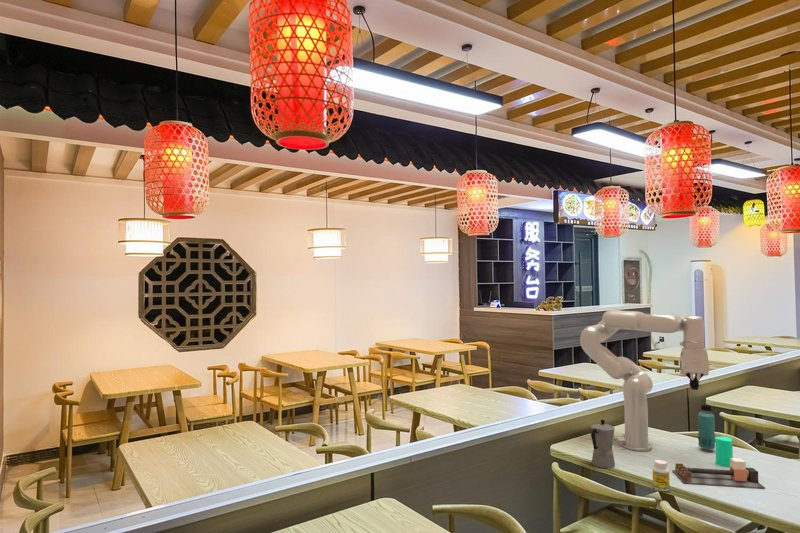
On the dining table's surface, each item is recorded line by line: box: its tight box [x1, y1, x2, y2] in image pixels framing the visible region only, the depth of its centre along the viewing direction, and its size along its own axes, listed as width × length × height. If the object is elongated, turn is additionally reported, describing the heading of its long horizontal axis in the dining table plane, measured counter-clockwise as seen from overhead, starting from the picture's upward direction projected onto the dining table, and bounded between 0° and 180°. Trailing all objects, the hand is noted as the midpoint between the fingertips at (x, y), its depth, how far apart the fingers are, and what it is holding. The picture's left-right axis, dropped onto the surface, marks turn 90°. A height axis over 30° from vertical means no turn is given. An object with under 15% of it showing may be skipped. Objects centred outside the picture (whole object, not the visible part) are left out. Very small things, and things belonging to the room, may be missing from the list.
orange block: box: [729, 457, 747, 481], centre depth 190 cm, size 4×4×7 cm
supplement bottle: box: [652, 459, 671, 492], centre depth 184 cm, size 5×5×10 cm
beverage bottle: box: [697, 403, 716, 450], centre depth 224 cm, size 6×7×20 cm
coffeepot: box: [590, 419, 616, 469], centre depth 207 cm, size 15×9×18 cm, turn 131°
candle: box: [715, 436, 734, 468], centre depth 208 cm, size 6×6×12 cm
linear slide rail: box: [672, 462, 766, 490], centre depth 192 cm, size 27×12×5 cm, turn 80°
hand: (694, 389), depth 215 cm, fingers closed
